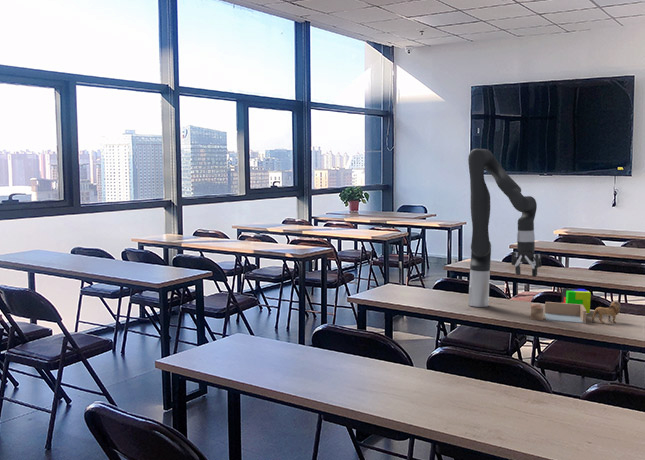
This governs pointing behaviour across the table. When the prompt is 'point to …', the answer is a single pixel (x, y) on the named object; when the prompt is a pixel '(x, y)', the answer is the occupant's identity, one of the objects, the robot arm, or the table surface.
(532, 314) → the block
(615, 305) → the lion figurine
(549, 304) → the arena
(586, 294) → the puzzle toy
